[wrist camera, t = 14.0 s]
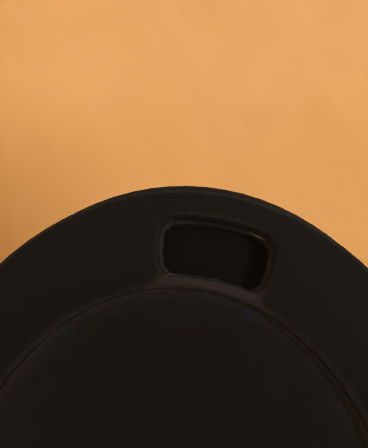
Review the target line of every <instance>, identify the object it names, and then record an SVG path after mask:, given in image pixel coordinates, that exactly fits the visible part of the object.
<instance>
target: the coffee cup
mask: <svg viewBox="0 0 368 448" xmlns="http://www.w3.org/2000/svg"><path fill="white" fill-rule="evenodd" d="M0 448H368V268H367V267H366V266H365V265H364V264H363V263H362V262H361V261H360V260H358V259H357V258H356V257H355V256H354V255H352V254H351V253H350V252H349V251H347V250H346V249H345V248H344V247H343V246H341V245H340V244H338V243H337V242H336V241H335V240H333V239H332V238H331V237H329V236H328V235H327V234H325V233H324V232H322V231H321V230H319V229H318V228H317V227H315V226H314V225H312V224H310V223H309V222H307V221H305V220H304V219H302V218H300V217H299V216H297V215H295V214H293V213H291V212H289V211H287V210H285V209H283V208H281V207H279V206H276V205H274V204H271V203H269V202H266V201H264V200H261V199H258V198H255V197H251V196H248V195H245V194H242V193H237V192H232V191H228V190H223V189H216V188H209V187H196V186H169V187H159V188H150V189H145V190H140V191H134V192H130V193H126V194H123V195H119V196H115V197H112V198H110V199H107V200H104V201H101V202H99V203H96V204H94V205H91V206H89V207H87V208H85V209H83V210H80V211H78V212H76V213H75V214H73V215H71V216H69V217H66V218H65V219H63V220H61V221H59V222H57V223H56V224H54V225H52V226H50V227H48V228H47V229H45V230H44V231H42V232H41V233H39V234H38V235H36V236H35V237H33V238H31V239H30V240H29V241H27V242H26V243H25V244H23V245H22V246H21V247H19V248H18V249H17V250H16V251H14V252H13V253H12V254H10V255H9V256H8V257H7V258H6V259H5V260H4V261H3V262H2V263H0Z"/></svg>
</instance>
